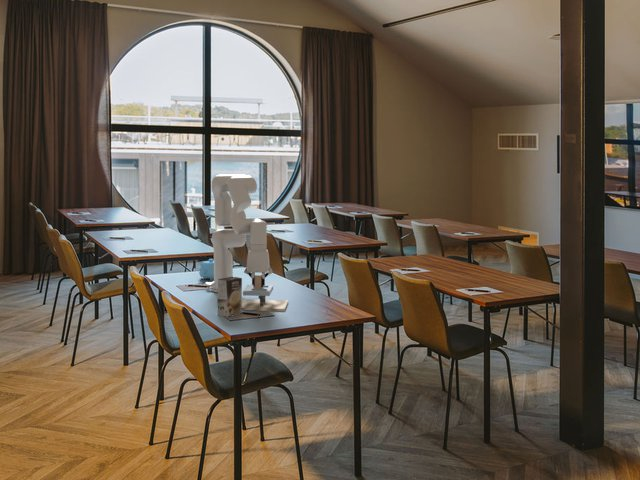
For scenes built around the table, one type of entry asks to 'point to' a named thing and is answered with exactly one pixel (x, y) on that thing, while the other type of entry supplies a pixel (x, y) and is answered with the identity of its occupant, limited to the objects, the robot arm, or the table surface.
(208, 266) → the teapot
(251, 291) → the panel
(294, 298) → the table surface
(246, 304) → the board
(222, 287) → the coffee box
